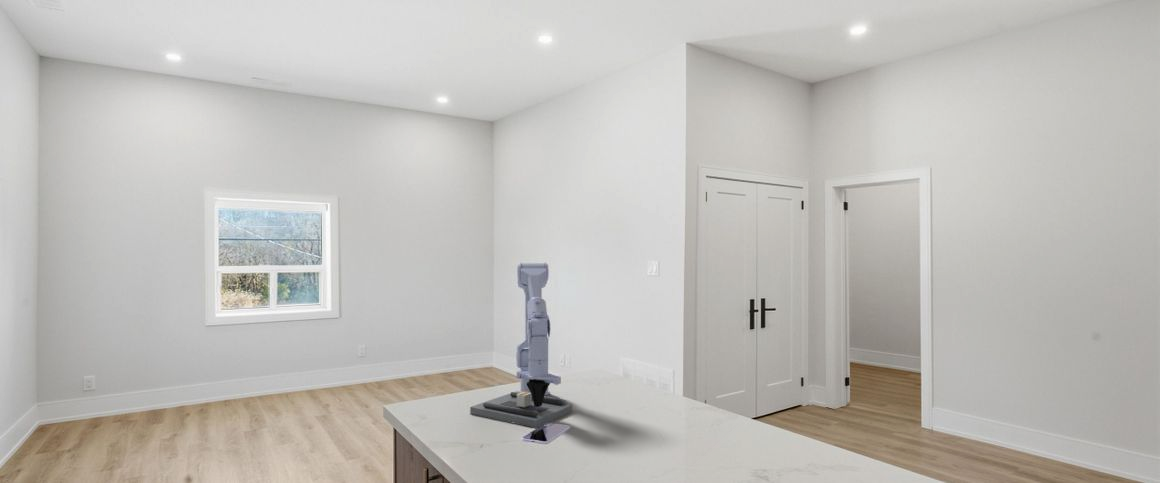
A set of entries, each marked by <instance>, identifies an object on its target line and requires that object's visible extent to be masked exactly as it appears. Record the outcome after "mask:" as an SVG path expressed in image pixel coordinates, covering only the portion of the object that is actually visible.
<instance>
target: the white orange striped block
mask: <svg viewBox="0 0 1160 483" xmlns="http://www.w3.org/2000/svg"><path fill="white" fill-rule="evenodd" d="M529 405H532V395H531V393H529V392H522V393H519V394H517V406H520V407H527V406H529Z"/></svg>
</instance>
